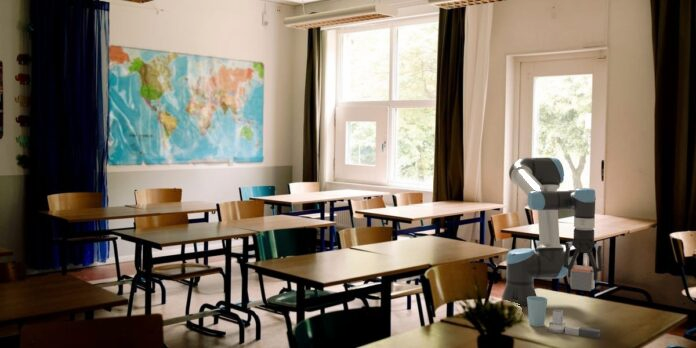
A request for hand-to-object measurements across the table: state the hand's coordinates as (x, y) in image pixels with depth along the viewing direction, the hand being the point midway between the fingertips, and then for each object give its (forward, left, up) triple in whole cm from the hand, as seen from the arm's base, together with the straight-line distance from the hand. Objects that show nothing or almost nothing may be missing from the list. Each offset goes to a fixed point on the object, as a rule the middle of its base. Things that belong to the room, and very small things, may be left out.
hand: (582, 287), depth 263 cm
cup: (-6, -16, -15) cm, 23 cm away
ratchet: (+9, -9, -15) cm, 20 cm away
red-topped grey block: (0, 0, 0) cm, 0 cm away
